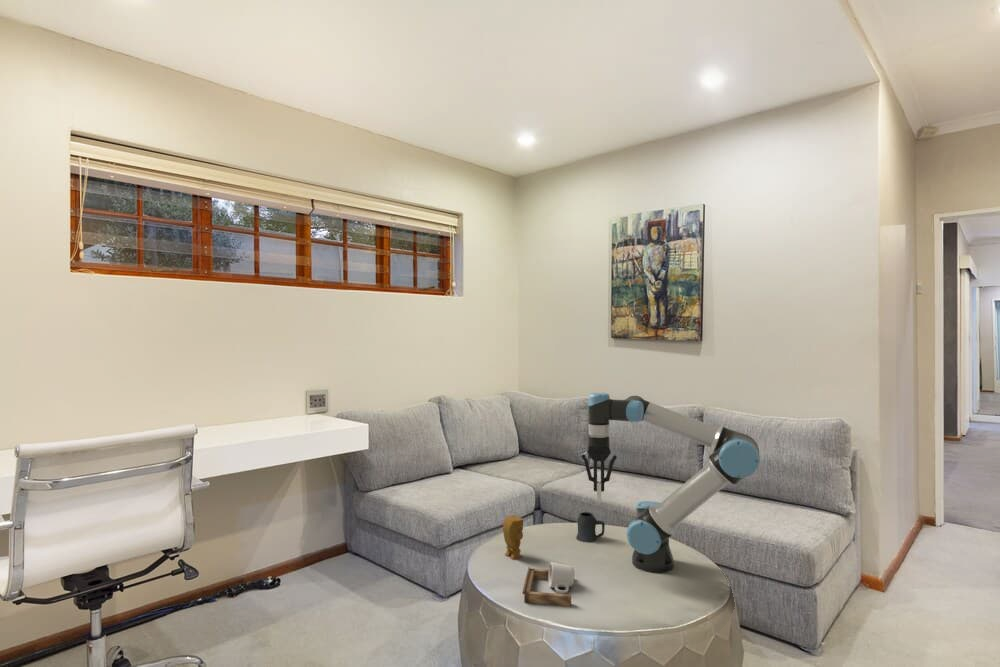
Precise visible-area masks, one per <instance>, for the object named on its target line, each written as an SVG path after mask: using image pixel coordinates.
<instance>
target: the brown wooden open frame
mask: <svg viewBox="0 0 1000 667" xmlns="http://www.w3.org/2000/svg"><path fill="white" fill-rule="evenodd" d="M526 572H527V573H526V577H525V581H524V585H523V588H522V595H524V598H523V599H524V601H523V602H524V603H527V604H540V605H553V606H563V605H564V606H565V607H571V606H572V594H568V593H565V594H560V593H557V592H541V591H540V592H539V591H532V590H533V586H534V580H549V579H548V574H549V569H542V568H531V566H528V568H527V571H526Z"/></svg>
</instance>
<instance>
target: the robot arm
mask: <svg viewBox="0 0 1000 667" xmlns="http://www.w3.org/2000/svg"><path fill="white" fill-rule="evenodd" d="M587 407H588V408H587V409H588V443H587V444H588V446H587V447H588V448H587V450H586V451H585V452H583V453H581V458H582V460H583V463H584V465H585V466H584V467H585V469H586V474H587V478H588V481H590V482H592V483H593V491H594V492H596V501H597V502H602V493H603V492H605V483H606V482H609V481H610V479H611V475H612V470H613V466H614V463H615V461H616V460H617V457H618V456H617V455H616V454H614V453H613V452H612V451H611V449H610V436H609V435H610V421H620V422H621V421H622V422H630V423H634V422H636V423H640V422H642V421H643V422H645V423H648V424H650V425H653V426H655V427H658V428H660V429H663V430H665V431H667V432H671V433H673V434H675V435H677V436H681V437H683V438H685V439H688V440H690V441H693V442H695V443H698V444H700V445H703V446H705V447H707V448H710V450H711V451H712V453H711V454H710V455H709V456H708V457H707V459H708V462H707V464H706V465H705V466H704V467H702V468H701V469H700V470H698V471H697V472H696V473H695V474H693V476H691V477H690V478H689V479H688V480H687V481H685V482H684V483H683V484H682V485H681V486H680V487H678V488H677V489H676V490H675V491H674V492H672V493H671V494H670V495H669V496H667V497H666V498H665V499H664V500H663V501H661V502H657V501H652V500H643V501H638V502H637V504H636V508H635V509H636V515H635V517H634V518H633V520H632V521H631V522H630V523H629V525H628V526H627V530H626V538H627V539H626V540H627V541H628V543H629V545H630V546H631V549H632V548H633V551H632V552H633V553H632V556H631V564H632V565H633V566H634V567H635V568H636V569H638V570H640V571H644V572H647V573H655V574H663V573H667V572H671V571H672V570H673V569H674V567H675V559H674V556H673V553H672V550H671V548H670V538H671V537H672V536H673V535H674V534H675V527H676V526H677V525H679V524H680V523H681V522H682V521H684V520H685V519H686V518H687V517H689V516H690V515H691V514H693V512H694V511H696V510H698V508H700V507H701V506H702V505H704V504H706V502H707V501H709V499H711V498H712V497H713V496H715V495H717V493H718V492H720V491H721V490H722V489H723V488H725V487H726V486H728V485H730V486H731V485H732V486H735V485H736V484H738V483H739V482H740V481H741V480H743V479H745V478H747V477H750V476H752V475H753V474H755V472H756V471H757V470H758V467H759V465H760V461H761V458H760V448H759V446H758V443H757V442H756V441H755V439H754V438H752V437H751V436H750V435H748V434H746V433H743V432H740V431H736V430H733V429H729V428H728V427H724V426H720V427H716V426H714V425H711V424H709V423H706V422H704V421H700V420H699V419H695V418H692V417H690V416H687V415H684V414H682V413H680V412H677V411H674V410H671V409H669V408H666V407H664V406H661V405H659V404H656V403H654V402H652V401H651V402H650V401H648V400H646V399H644V398H643V397H641V396H639V395H631V396H630V395H629V396H628V397H626V398H625V399H614V398H613V399H612V398H610V394H609V393H606V392H591V393H590V394H589V395H588V405H587ZM589 457H590V458H591V460H592V461H593V474H592V472H591V468H590V464H589V460H588V458H589ZM608 458H609V464H608V468H607V471H606V476H605V462H606V460H607V459H608ZM598 462H600V480H599V481H598Z"/></svg>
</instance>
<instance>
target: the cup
mask: <svg viewBox="0 0 1000 667" xmlns="http://www.w3.org/2000/svg"><path fill="white" fill-rule="evenodd" d="M548 570H549V574H548V579H547V580H548V586H549V588H551V589H553V588H554V590H555V593H557V594H568V592H569V590H570V589H569V588H570V587H573V585H574V583H575V569H574V567H573V566H571V565H567V564H564V563H562V564H561V563H558V562H557V563H556V562H552V561H551V562H550V563H549V566H548ZM559 588H564V589H563V590H562V589H559Z"/></svg>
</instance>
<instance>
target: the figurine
mask: <svg viewBox="0 0 1000 667" xmlns="http://www.w3.org/2000/svg"><path fill="white" fill-rule="evenodd" d="M523 530H524V518H521V517H519V516H518V515H515V514H514V515H508V516H507V517H505V519H504V521H503V525H502V533H503V534H502V535H503V537H504V538H503V539H504V541H505V542H504V543H506V544H505V545H506V546H505V547H506V552H505V553H504V556H506V557H509V559H511V560H512V561H513V560H517V559H521V558H522V557H523V555H521V548H520V546H521V540H522V539H523V537H524V533H523Z"/></svg>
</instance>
